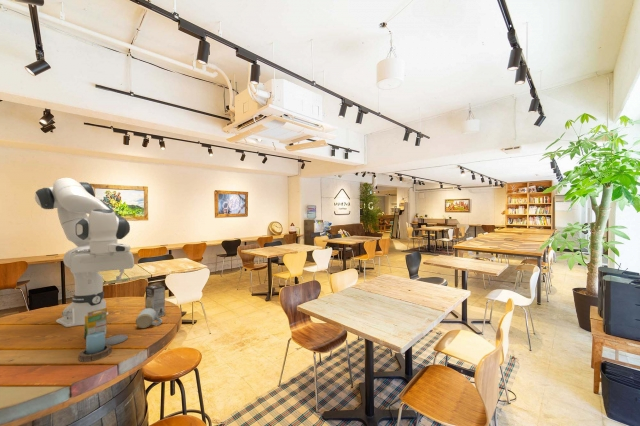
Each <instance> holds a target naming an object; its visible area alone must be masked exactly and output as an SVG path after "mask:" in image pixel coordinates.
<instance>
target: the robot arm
mask: <svg viewBox="0 0 640 426" xmlns="http://www.w3.org/2000/svg"><path fill="white" fill-rule="evenodd" d="M52 185H53V186H49V187H42V188H39V189H37V190H36V191H35V193H34V195H35V196H34V200H35V202H36V204H37V205H38V206H39V207H40V208H41V209H44V210H54V209H56V210H57V215H58V220H59V223H60V225H61V227H62V230H63V232H64V236H65V237H66V239H67V240H68V241H69V242H71V243H73V244H74V245H75V246H76V247H73V248H72V249H70V250H68V251H66V252H65V253H64V255H63V258H62V259H63V260H62V261H63V264H64V265H65V266H66V267H67V268H69V270H70V272H69V273H71V274H73V275H72V276H73V278H74V294H73V295H71V296H72V297H71V298H72V299H71V302H70V304H68V305H67V306H66V307H64V309H63V311H61V316H62V317H60V318H57V319H56V320H55V321H56V323H58V324H60V325H62V326H63V327H65V328H69V327H75V326H85V316H86V315H88V312H92V311H96V310H100V309H104V308H107V303H106V299H104V298H105V297H104V296H105V292H104V277H103V275H102V274H101V273H100V272H108V271H110V272H111V271H119V275H116V276H115V281H122V276H123V274H124V272H125V270H128V269H133V268H134V267H135V258H134V255H133V252H132V251H130V250H131V246H130V245H128V244H123V243H118V240H123V239H125V237H126V236H128V235H129V234H130V230H131V226H130V223H129V222H128V220H127V219H126V218H125V217H124V216H120V215H119V214H118V213H117V212H116V211H115V210H114V209H112V208H111V206H109V205H108V204H107V203H106V202H105V201H103V200H101V199H99V198H97V197H96V190H95V188H94V187H93V186H92V185H91V184H90V183H89V182H85V181H83V182H82V181H81V182H79V181H77V180H76V179H74V178H71V177H62V178H58V179H56V180H55V181H54V183H53V184H52ZM98 312H102V311H97V312H94V313H98ZM94 313H93V314H94ZM108 315H109V312H107V316H108Z"/></svg>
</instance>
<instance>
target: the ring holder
mask: <svg viewBox="0 0 640 426" xmlns="http://www.w3.org/2000/svg"><path fill="white" fill-rule="evenodd" d="M111 353H112V345H108V344H105V350H104V351H102V352H99V353H95V354H89V355H86V348H84V349H83V350H81V351H80V352H79V353H78V361H79V362H83V363H86V362H93V361H97V360H100V359H104V358H105V357H108V356H109V355H110V354H111Z"/></svg>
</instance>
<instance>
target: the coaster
mask: <svg viewBox="0 0 640 426" xmlns="http://www.w3.org/2000/svg"><path fill="white" fill-rule="evenodd" d="M128 337H129V336H128V335H126V334H119V335H118V334H117V335H112V336H110V337H105V344H108V345H111V346H115V345H118V344H122V343H123V342H125V341H127V340H128Z"/></svg>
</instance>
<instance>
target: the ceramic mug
mask: <svg viewBox="0 0 640 426" xmlns="http://www.w3.org/2000/svg"><path fill="white" fill-rule="evenodd" d="M156 321H157V322H156ZM162 323H163V319H162V318H161V317H157V313H156V311H155V310H154V309H152V308H146V309H145V308H144V309H142V310H141V311H140V313H139V314H138V315H137V317H136V320H135V324H136V327H138V328H139V329H147V328H149V327H150V326H161V325H162Z"/></svg>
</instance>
